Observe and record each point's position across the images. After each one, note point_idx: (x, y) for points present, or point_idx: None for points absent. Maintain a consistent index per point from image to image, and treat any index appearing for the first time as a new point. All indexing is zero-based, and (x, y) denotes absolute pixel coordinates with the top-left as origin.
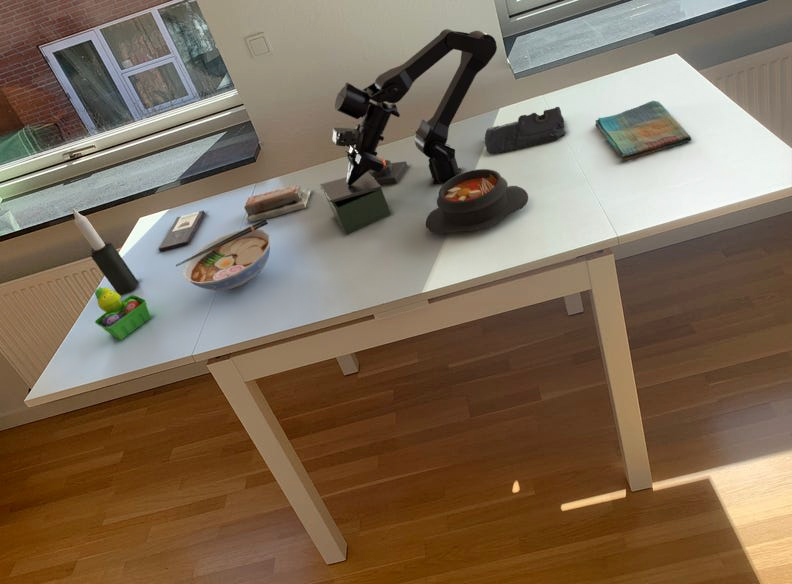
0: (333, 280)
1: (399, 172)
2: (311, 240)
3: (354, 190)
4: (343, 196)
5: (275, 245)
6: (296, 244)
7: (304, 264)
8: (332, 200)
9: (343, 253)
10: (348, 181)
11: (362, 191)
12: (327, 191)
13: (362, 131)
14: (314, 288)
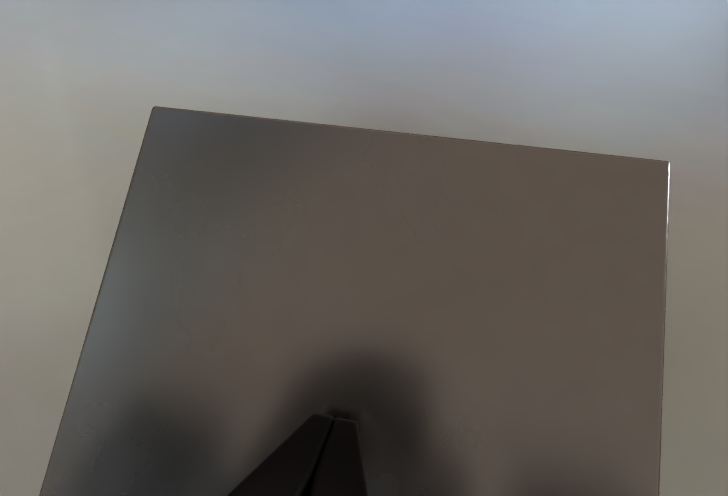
0: (13, 79)
1: None
2: (412, 123)
3: (139, 411)
4: (113, 243)
5: (543, 4)
6: (450, 66)
7: (245, 42)
8: (150, 130)
9: (131, 179)
10: (285, 443)
11: (45, 474)
12: (379, 161)
13: None
14: (54, 20)
